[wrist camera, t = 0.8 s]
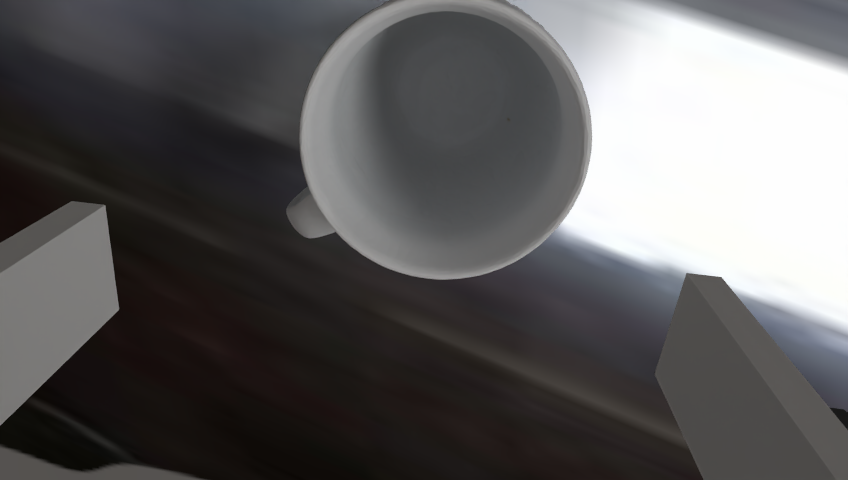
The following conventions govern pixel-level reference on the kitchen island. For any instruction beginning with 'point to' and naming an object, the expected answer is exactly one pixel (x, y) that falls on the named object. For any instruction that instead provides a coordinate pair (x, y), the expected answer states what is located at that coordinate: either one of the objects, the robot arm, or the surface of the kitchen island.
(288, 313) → the kitchen island surface
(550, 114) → the mug
